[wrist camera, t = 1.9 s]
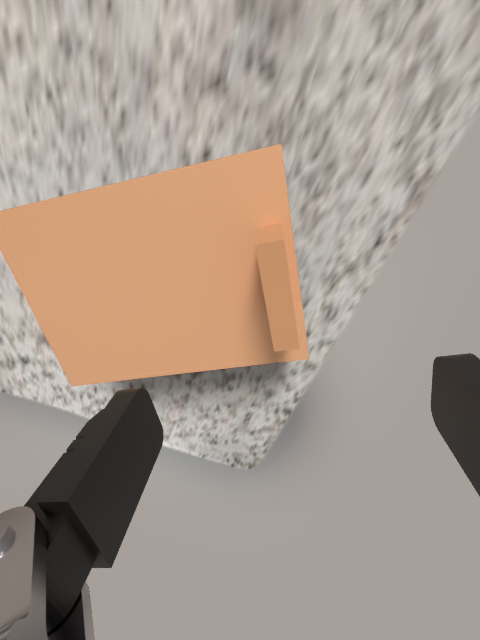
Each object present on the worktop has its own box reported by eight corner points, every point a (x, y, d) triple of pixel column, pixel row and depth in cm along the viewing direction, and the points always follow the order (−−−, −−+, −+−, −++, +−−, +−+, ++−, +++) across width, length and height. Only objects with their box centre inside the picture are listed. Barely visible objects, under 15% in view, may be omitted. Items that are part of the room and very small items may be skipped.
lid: (81, 375, 29) (26, 433, 22) (0, 212, 23) (-107, 228, 16) (307, 348, 25) (318, 408, 19) (280, 145, 19) (283, 132, 13)
